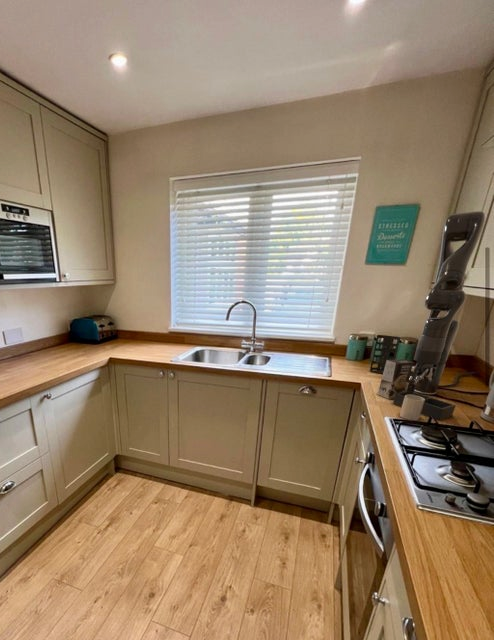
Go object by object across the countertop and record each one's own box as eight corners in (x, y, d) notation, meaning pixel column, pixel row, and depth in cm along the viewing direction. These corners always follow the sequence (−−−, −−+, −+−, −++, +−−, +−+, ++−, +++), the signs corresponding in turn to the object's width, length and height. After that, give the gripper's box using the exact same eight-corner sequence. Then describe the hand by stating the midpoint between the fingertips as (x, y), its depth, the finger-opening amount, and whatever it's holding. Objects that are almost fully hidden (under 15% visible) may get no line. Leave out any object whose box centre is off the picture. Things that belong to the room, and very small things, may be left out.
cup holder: (405, 400, 142) (408, 390, 140) (452, 416, 128) (455, 405, 126) (392, 404, 138) (395, 393, 136) (439, 420, 124) (443, 409, 122)
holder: (370, 372, 179) (379, 335, 174) (367, 370, 186) (375, 334, 181) (393, 375, 176) (402, 337, 171) (389, 372, 183) (398, 336, 178)
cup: (405, 412, 130) (411, 393, 127) (422, 418, 125) (428, 399, 122) (396, 415, 127) (401, 396, 124) (412, 421, 122) (418, 401, 119)
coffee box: (388, 399, 143) (398, 363, 137) (376, 394, 148) (385, 359, 142) (405, 397, 145) (415, 362, 139) (393, 392, 151) (402, 358, 145)
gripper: (429, 352, 110) (415, 397, 116) (452, 349, 116) (437, 392, 122) (406, 348, 116) (394, 391, 122) (429, 345, 122) (416, 386, 128)
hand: (416, 391), depth 122 cm, fingers open, 8 cm apart
